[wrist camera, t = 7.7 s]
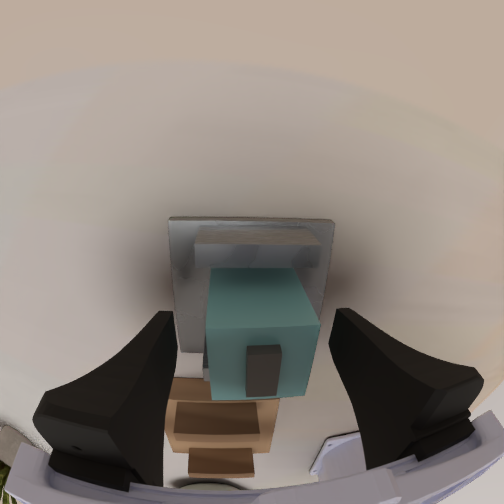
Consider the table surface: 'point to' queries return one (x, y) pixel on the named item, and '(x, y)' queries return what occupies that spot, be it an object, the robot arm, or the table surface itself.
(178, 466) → the table surface
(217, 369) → the plug
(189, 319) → the lower dock
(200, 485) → the air freshener
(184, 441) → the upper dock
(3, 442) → the house plant
